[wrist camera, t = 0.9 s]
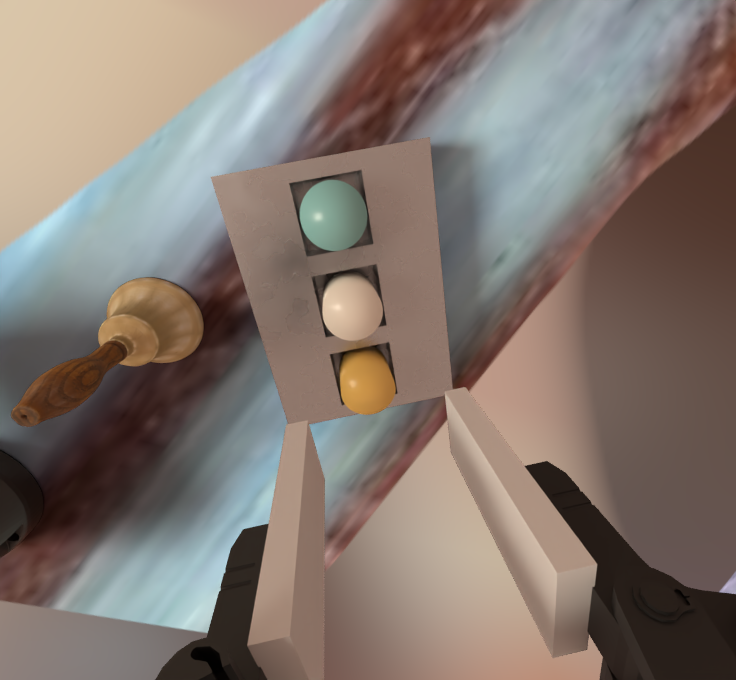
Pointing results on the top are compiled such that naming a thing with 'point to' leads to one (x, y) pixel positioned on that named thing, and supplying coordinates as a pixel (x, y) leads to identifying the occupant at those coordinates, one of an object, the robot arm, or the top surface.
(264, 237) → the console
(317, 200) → the teal button
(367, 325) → the ivory button
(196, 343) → the hand bell
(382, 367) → the amber button
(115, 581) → the top surface
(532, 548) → the robot arm
